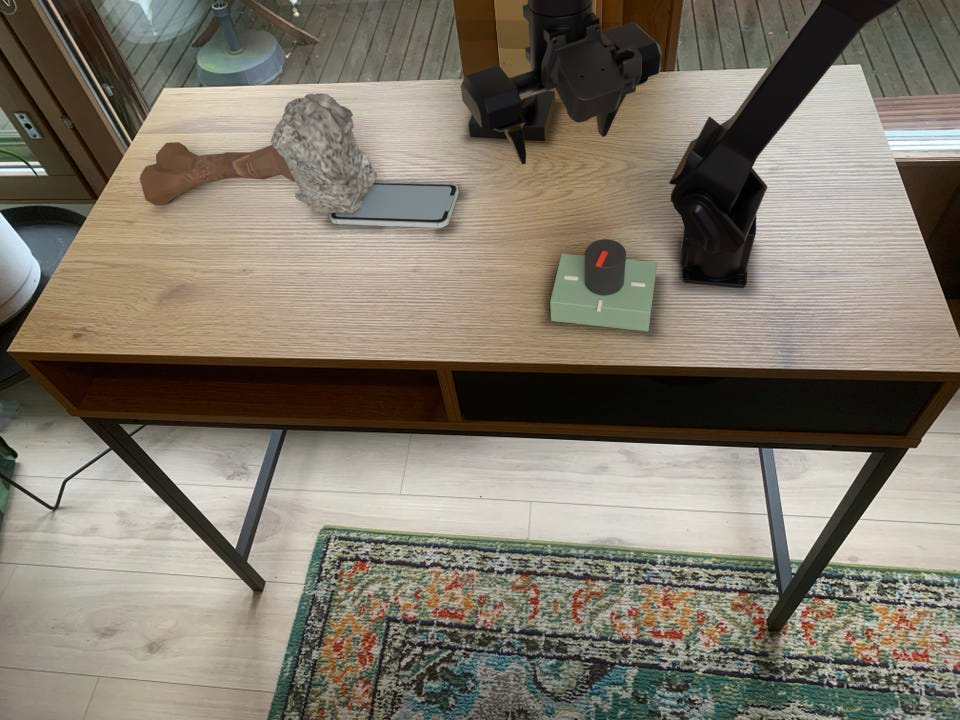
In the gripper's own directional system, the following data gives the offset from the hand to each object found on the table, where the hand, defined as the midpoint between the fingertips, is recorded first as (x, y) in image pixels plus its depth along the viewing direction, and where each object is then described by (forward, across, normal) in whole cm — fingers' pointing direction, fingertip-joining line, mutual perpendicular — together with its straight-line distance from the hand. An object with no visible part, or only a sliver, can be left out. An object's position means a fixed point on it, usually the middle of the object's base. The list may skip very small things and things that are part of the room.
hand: (562, 148), depth 77 cm
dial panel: (+11, -1, -12) cm, 17 cm away
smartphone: (+11, -17, +13) cm, 24 cm away
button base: (+11, +3, +21) cm, 24 cm away
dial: (+8, -1, -12) cm, 15 cm away
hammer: (+11, -31, +23) cm, 40 cm away
